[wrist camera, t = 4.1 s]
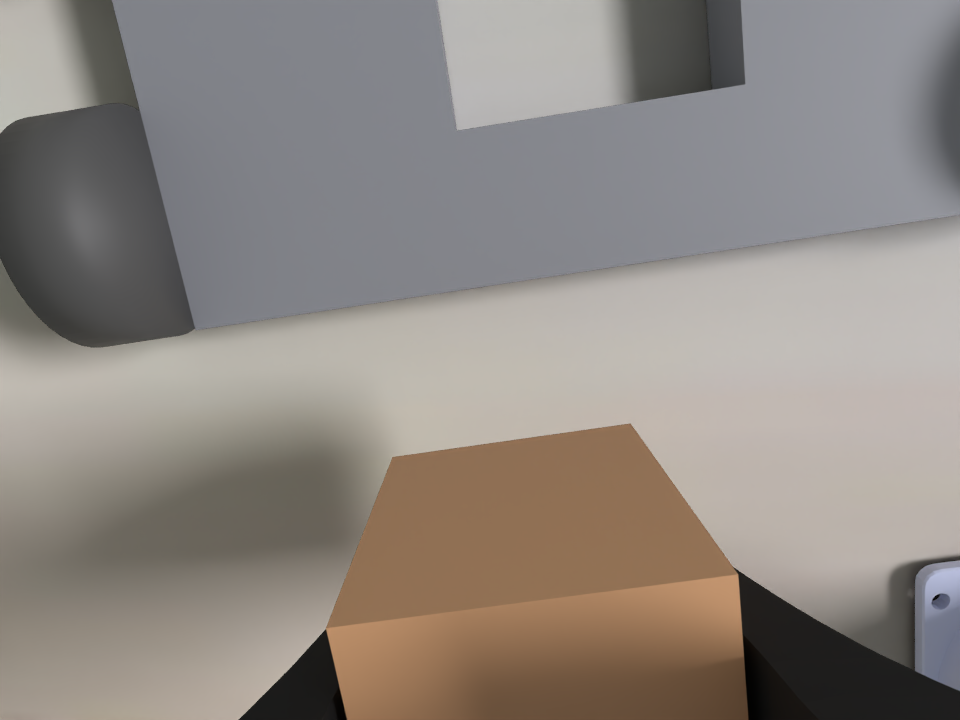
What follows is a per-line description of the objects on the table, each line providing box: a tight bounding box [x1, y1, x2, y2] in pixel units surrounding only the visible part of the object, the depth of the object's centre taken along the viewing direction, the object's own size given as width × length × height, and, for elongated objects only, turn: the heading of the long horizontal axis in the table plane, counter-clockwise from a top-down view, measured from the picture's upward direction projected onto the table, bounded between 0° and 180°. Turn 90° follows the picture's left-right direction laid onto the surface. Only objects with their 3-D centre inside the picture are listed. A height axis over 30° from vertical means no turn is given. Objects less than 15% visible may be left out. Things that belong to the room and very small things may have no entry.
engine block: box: [326, 424, 748, 720], centre depth 10 cm, size 5×4×5 cm
